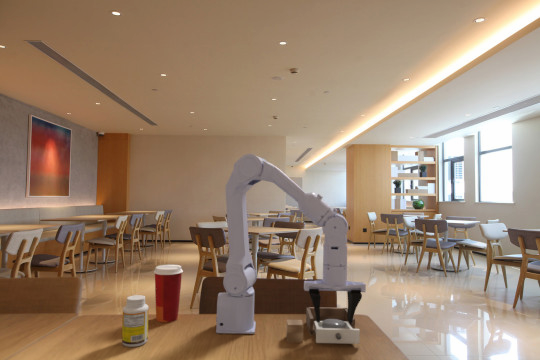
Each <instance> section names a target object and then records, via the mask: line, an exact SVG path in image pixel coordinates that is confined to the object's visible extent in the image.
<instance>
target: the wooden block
mask: <svg viewBox="0 0 540 360" xmlns="http://www.w3.org/2000/svg"><path fill="white" fill-rule="evenodd" d="M286 341H287V343H304V323H303V320H302V319H286Z"/></svg>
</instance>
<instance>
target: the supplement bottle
mask: <svg viewBox="0 0 540 360" xmlns="http://www.w3.org/2000/svg"><path fill="white" fill-rule="evenodd" d="M121 321H122V326H121V327H122V328H121V331H122V332H121V343H122V345H123V346H124V347H128V348H133V347H134V348H135V347H140V346H143V345H144V344H146V343H147V342H148V340H149V305H148V304H147V303H146V296H145V295H142V294H141V295H140V294H135V295H130V296H127V298H126V305H124V306H123V308H122V320H121Z"/></svg>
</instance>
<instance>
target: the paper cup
mask: <svg viewBox="0 0 540 360" xmlns="http://www.w3.org/2000/svg"><path fill="white" fill-rule="evenodd" d="M182 267H183V266H182V265H179V264H161V265H157V266H156V267H155V268H154V270H153V274H154V286H155V287H154V289H155V290H154V291H155V295H154V296H155V298H154V299H155V319H156V322H158V323H161V324H163V323H164V324H165V323H166V324H167V323H172V322H175V321H177V320H178V319H179V308H180V299H181V298H180V297H181V288H182V276H183V275H182V273H183V272H184V270H183V269H182Z"/></svg>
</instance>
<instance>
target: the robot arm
mask: <svg viewBox="0 0 540 360" xmlns="http://www.w3.org/2000/svg"><path fill="white" fill-rule="evenodd" d="M261 181H263V182H269V183H273V184H274V185H276V187H278V188H279V189H280V190H282V192H284V193H286V194H287V195H288V196H289V197H290V198H291V199H293V200H294V201H296V202H297V204H298V211H299V212H300V213H301V214H303V215H304V216H305V217H306V218H307V219H308V220H310V221H311V222H312V223H313V224H314V225H316V226H317V227H319V228H321V229H322V233H323V235H324V242H323V245H322V246H323V247H322V248H323V249H322V250H323V253H322V254H323V256H322V279H321V280H304V281H303V290H304V292H308V293H309V296H310V299H311V302H312V306H313V307H314V310H315V315H316V321H317V322H320V307H321V298H322V296H321V295H320V291H326V292H327V291H329V292H334V291H335V292H346V293H347V309H348V312H347V320H348V322H349V323H352V320H353V317H354V316H355V312H356V309H357V307H358V305H359V303H360V302H361V300H362V297H363V295H362V293H366V286H367V285H366V283H365V282H363V281H361V282H360V281H350V280H347V277H348V276H347V275H348V243H347V242H348V237H347V234H348V232H349V223H348V220H347V219H346V217H345V216H344V215H343V214H342V213H340V212H339V213H338V209H337V208H336V207H332V206H331V205H329V204H328V203H327V202H326V201H325V200H323V198H324V197H323V196H322V195H321V194H320V193H318V194H316V193H315V192H306V191H304V189H302V188H301V186H299V185H298V184H297V183H296V182H295V181H294V180H293V179H292V178H290V177H289V176H288V175H287V174H286V173H285V172H284V171H282V170H281V169H280V168H278V167H277V166H276V165H275V164H273V163H271V162H269V161H268V160H267V159H265V158H263V157H261V156H260V157H259V156H257V154H254V153H246V154H244V155H242V156H241V157H240V158H239V159H238V160H236V162H234V164H233V169H232V171H231V172H230V175H229V178H228V180H227V182H226V184H225V203H226V204H225V205H226V219H227V235H228V238H227V239H228V254H229V255H228V259H227V261H226V264H225V269H226V270H225V274H224V276H223V281H222V283H223V288H224V290H225V291H224V292H219V293H218V294H217V301H216V317H215V318H216V319H215V321H216V322H215V323H216V327H215V329H216V330H215V333H216V334H243V335H246V334H247V335H248V334H251V335H253V334H255V333H256V326H257V325H256V320H255V289H254V287H253V286H254V284H255V283H256V281H257V279H258V274H257V270H256V269H255V266H254V261H253V258H252V256H251V254H250V241H249V239H250V238H249V225H248V207H247V206H248V205H247V193H248V191H250V189H251V188H253V187H254V185H256V184H258V183H260V182H261Z"/></svg>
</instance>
